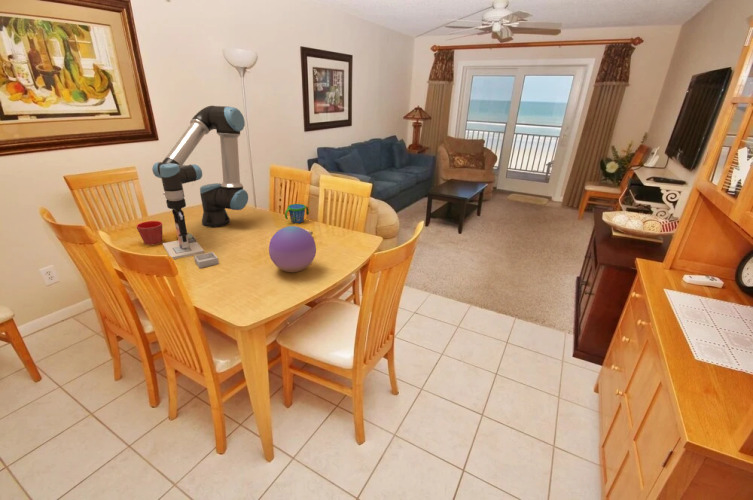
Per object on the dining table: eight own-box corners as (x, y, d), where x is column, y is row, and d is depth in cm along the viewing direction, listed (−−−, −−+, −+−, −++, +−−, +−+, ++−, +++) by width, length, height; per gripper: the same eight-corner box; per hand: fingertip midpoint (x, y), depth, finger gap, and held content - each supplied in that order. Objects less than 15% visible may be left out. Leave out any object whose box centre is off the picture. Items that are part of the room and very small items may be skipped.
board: (193, 239, 178) (192, 235, 177) (204, 252, 164) (203, 247, 163) (163, 245, 169) (161, 240, 168) (171, 259, 155) (170, 254, 154)
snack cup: (289, 226, 202) (288, 210, 198) (282, 221, 209) (280, 205, 205) (312, 222, 211) (312, 206, 206) (305, 217, 218) (304, 202, 214)
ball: (274, 283, 140) (270, 238, 132) (267, 263, 156) (263, 222, 148) (321, 276, 147) (320, 233, 139) (310, 257, 164) (309, 218, 156)
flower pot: (154, 247, 167) (150, 229, 163) (135, 245, 169) (130, 226, 165) (170, 239, 176) (167, 222, 173) (152, 237, 178) (148, 219, 174)
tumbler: (188, 244, 167) (183, 221, 163) (190, 247, 165) (185, 224, 160) (179, 246, 165) (174, 223, 160) (180, 249, 162) (176, 225, 157)
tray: (213, 257, 159) (212, 251, 158) (218, 263, 154) (217, 257, 152) (195, 261, 155) (193, 255, 153) (199, 268, 149) (198, 262, 148)
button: (191, 235, 175) (190, 232, 175) (193, 238, 172) (193, 235, 171) (180, 237, 172) (179, 234, 172) (182, 241, 169) (182, 237, 168)
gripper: (162, 195, 159) (172, 242, 168) (169, 204, 147) (179, 253, 156) (180, 193, 163) (188, 239, 173) (188, 202, 152) (197, 250, 161)
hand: (184, 245), depth 165 cm, fingers closed on tumbler, 4 cm apart
